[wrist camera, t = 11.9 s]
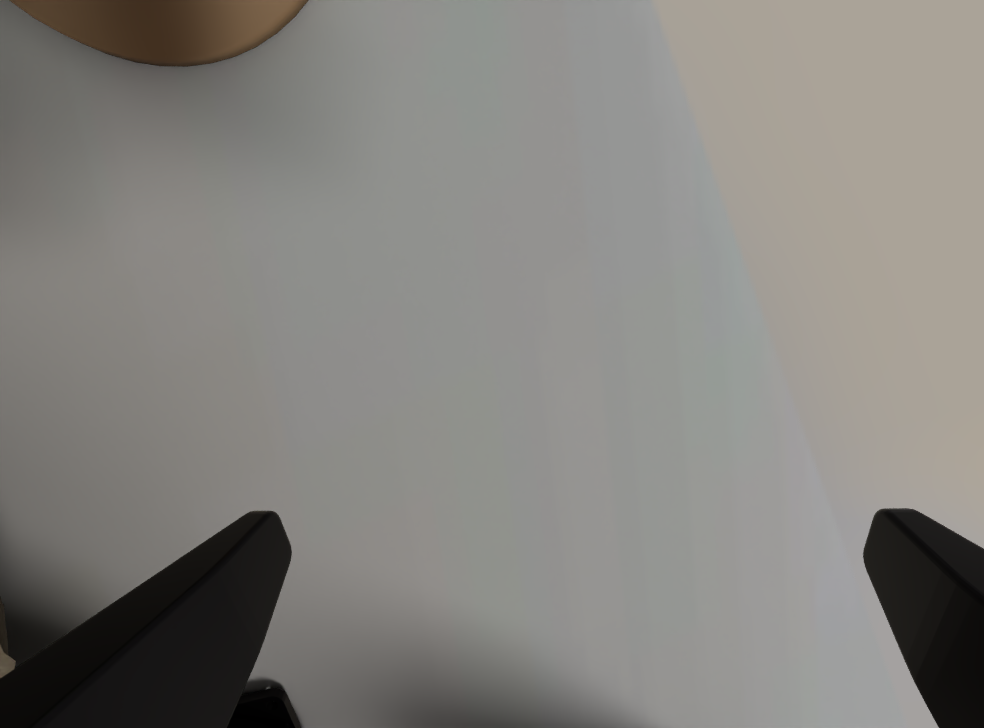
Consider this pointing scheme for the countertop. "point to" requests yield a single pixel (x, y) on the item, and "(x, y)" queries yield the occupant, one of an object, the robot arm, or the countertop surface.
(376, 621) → the countertop surface
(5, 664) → the stone bowl
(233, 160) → the countertop surface
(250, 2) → the walnut coaster
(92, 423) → the countertop surface
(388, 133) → the countertop surface
